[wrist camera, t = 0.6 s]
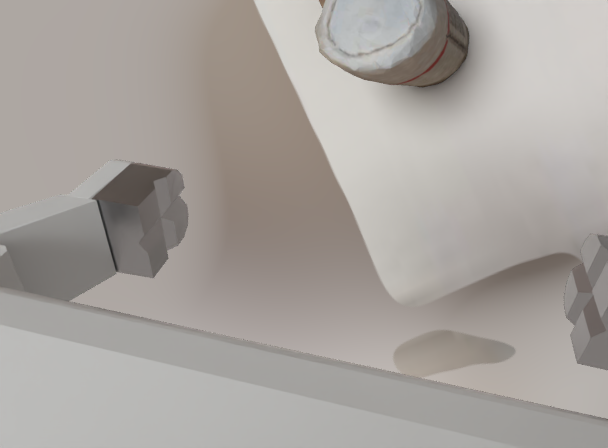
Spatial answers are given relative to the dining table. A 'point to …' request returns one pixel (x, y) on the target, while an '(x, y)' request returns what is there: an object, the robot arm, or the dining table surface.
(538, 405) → the robot arm
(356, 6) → the spray can
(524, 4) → the dining table surface
